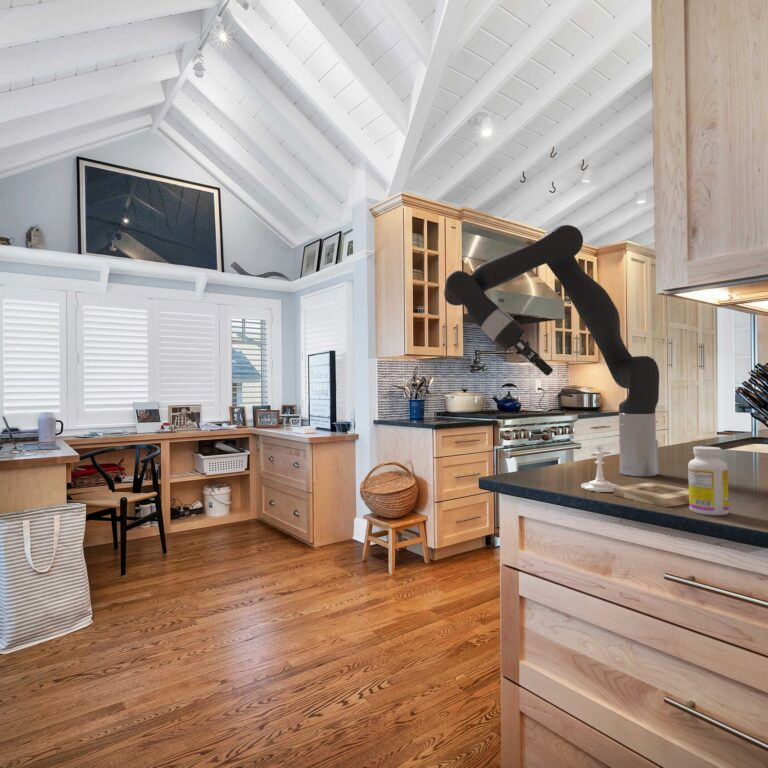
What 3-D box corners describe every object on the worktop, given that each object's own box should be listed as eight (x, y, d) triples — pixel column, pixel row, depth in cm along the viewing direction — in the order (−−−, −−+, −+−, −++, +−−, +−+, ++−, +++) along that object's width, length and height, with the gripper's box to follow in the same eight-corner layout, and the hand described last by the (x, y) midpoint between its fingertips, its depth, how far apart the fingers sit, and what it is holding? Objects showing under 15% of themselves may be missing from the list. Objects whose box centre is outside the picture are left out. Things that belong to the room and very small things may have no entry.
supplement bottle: (717, 508, 103) (716, 445, 103) (736, 516, 97) (735, 449, 97) (682, 508, 104) (681, 445, 104) (699, 516, 97) (698, 449, 97)
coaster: (599, 484, 130) (598, 480, 130) (629, 490, 122) (629, 487, 122) (573, 487, 126) (573, 484, 126) (603, 494, 118) (602, 490, 118)
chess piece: (595, 482, 127) (594, 443, 127) (614, 485, 124) (614, 444, 124) (585, 485, 124) (584, 444, 124) (604, 488, 120) (604, 446, 120)
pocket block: (651, 489, 122) (651, 482, 122) (705, 500, 110) (705, 492, 110) (613, 495, 116) (613, 487, 116) (666, 507, 105) (666, 498, 105)
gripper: (511, 315, 124) (561, 360, 120) (515, 322, 137) (561, 363, 133) (489, 338, 126) (538, 383, 122) (496, 342, 139) (540, 383, 135)
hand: (550, 372), depth 128 cm, fingers open, 8 cm apart
